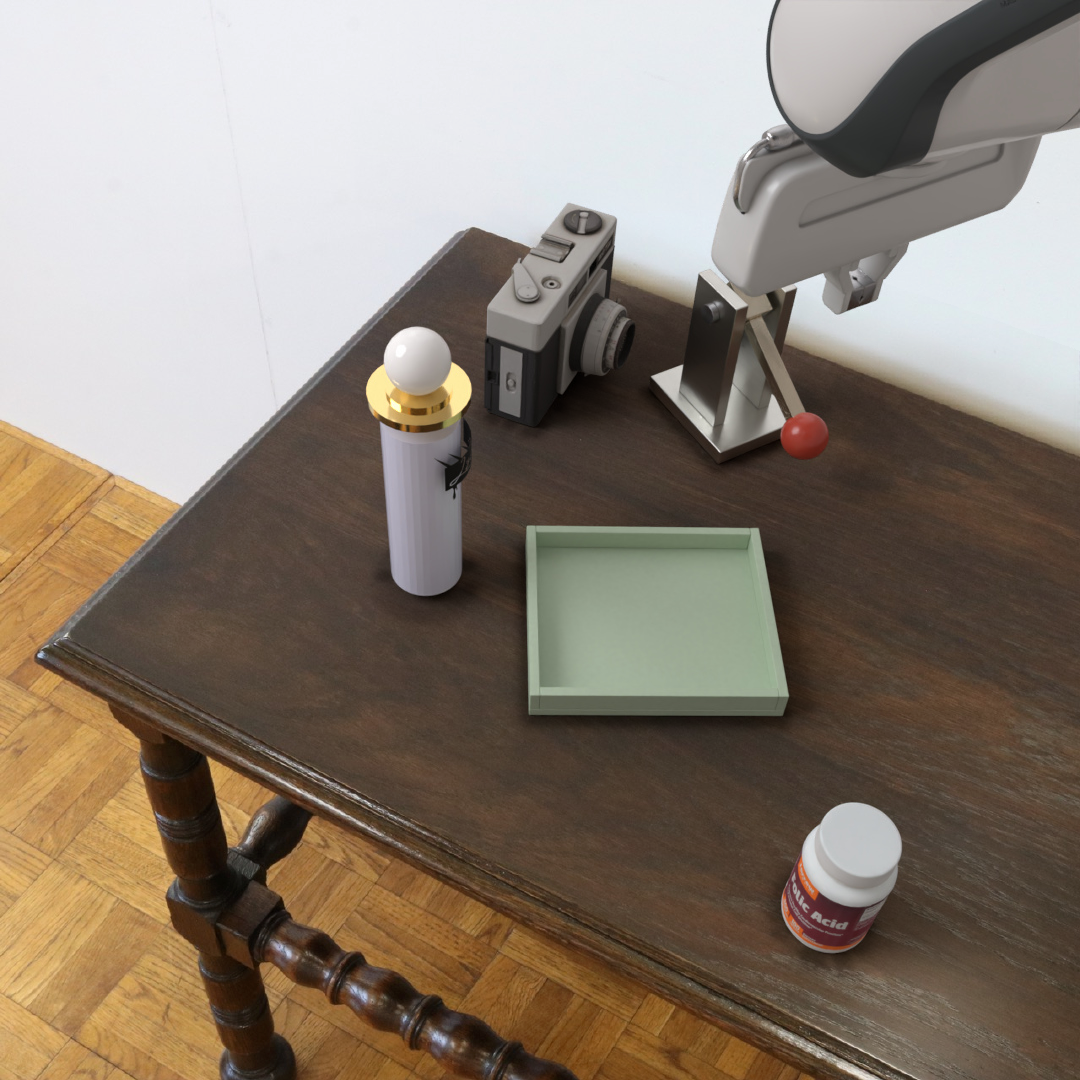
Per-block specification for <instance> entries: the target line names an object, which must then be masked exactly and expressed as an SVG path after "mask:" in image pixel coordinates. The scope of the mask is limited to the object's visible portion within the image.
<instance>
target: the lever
mask: <svg viewBox="0 0 1080 1080" xmlns="http://www.w3.org/2000/svg"><path fill="white" fill-rule="evenodd" d="M726 284H727V285H728V286H729V287H730V288H731V289H732V290H733V291H734V292H735V293H736V294H737V295H738V296H739V297H740V298H741V299H742V300H743V301H745V302H746V303H747V304H748V306H749V307H748V311H747V316H746V321H745V326H744V330H745V332H746V334H747V337H748V339H749V341H750V343H751V345H752V348H753V350H754V352H755V354H756V356H757V359H758V361H759V363H760V365H761V367H762V370H763V372H764V374H765V376H766V378H767V381H768V383H769V385H770V387H771V389H772V394H773V395H774V396H775V398H776V400H777V403H778V405H779V407H780V409H781V411H782V414H783V416H784V418H785V420H786V422H785V423H784V425H783V427H782V429H781V435H780V439H779V440H780V443H781V446H782V448H783V450H784V451H785V452H786V453H787V454H788V455H789V456H790V457H792V458H794V459H796V460H801V461H808V460H812V459H815V458H817V457H818V456H820V455H821V454H822V453H823V452H824V451H825V450H826V448H827V446H828V444H829V440H830V431H829V428H828V425H827V423H826V421H824V419H823V418H822V417H820V416H819V415H817V414H815V413H813V412H809V411H808V412H807V411H806V409H805V407H804V405H803V403H802V401H801V399H800V396H799V394H798V391H797V390H796V387H795V385H794V383H793V380H792V379H791V376H790V374H789V372H788V370H787V368H786V366H785V364H784V361H783V359H782V356H781V357H780V355H779V352H778V350H777V348H776V346H775V344H774V342H773V339H772V337H771V335H770V333H769V331H768V328H767V326H766V324H765V322H764V320H763V316H765V315H766V314H767V313H769V312H770V311H771V310H772V309H773V308H772V306H771V304H770V302H769V299H768V297H767V295H766V294H764V295H761V296H758V297H750V296H747V295H746V294H744V293H743V292H742V291H741V290H739V289H738V288H737V287H736V286H734V285H733V284H732V283H731V282H730V281H729V280H728V282H727V283H726Z"/></svg>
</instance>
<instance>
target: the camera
mask: <svg viewBox="0 0 1080 1080" xmlns="http://www.w3.org/2000/svg"><path fill="white" fill-rule="evenodd" d="M617 225H618V218H617V217H616V216H615V215H612V214H609V213H606V212H601V211H599V210H596V209H592V208H588V207H586V206H581V205H578V204H575V203H572V202H567V203H566V204H565V205H564V207H562V209H561V210H560V212H559V213H558V215H557V216H556V217H555V218H554V220H552V221H551V224H549V226H548V227H547V228H546V230H545V231H544V232H543V233H542V234H541V235H540V238H541V239H540V241H539V242H538V244H537V245H536V247H534V246H532V247H531V249H529V253H527V255H526V256H525V257H524V259H522V257H518V259H517V262H516V263H515V264H514V265H513V267H512V268H511V274H510V276H509V278H508V279H507V280H506V281H505V283H504V284H503V286H502V287H500V289H499V291H498V292H497V293H496V294H495V296H494V297H493V298H492V300H491V301H490V302H489V303H488V305H487V307H486V308H487V309H486V333H485V337H484V372H483V373H484V374H483V375H484V376H483V377H484V383H483V384H484V386H483V408H484V409H487V412H488V413H491V414H493V415H495V416H499V417H502V418H504V419H507V420H510V421H513V422H516V423H518V424H522V425H525V426H529V427H532V428H535V427H537V426H538V425H539V423H540V422H541V421H542V420H543V418H544V416H545V415H546V413H547V412H548V410H549V408H550V407H551V406H552V404H553V403H554V402H555V400H556V399H557V397H558V395H559V394H560V395H564V393H565V391H566V390H567V388H568V387H569V385H570V384H571V382H572V381H573V380H574V378H575V376H576V375H577V373H578V372H580V373H584V375H583V376H584V377H587V376H589V375H595V376H602V377H603V376H605V375H607V374H608V373H609V372H610V370H611V369H612V370H615V371H619V370H620V369H622V368H623V366H625V364H626V361H627V360H628V358H629V355H630V352H631V350H632V347H633V344H634V340H635V336H636V327H637V325H636V322H635V321H634V320H633V319H632V318H631V319H630V318H628V311H627V308H626V307H625V306H623V305H622V304H620V302H621V300H622V299H621V298H619V297H616V300H615V301H614V300H612V299H610V293H611V286H612V285H611V284H612V274H613V265H614V255H615V248H616V245H615V243H616V234H617Z"/></svg>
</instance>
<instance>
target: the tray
mask: <svg viewBox="0 0 1080 1080" xmlns="http://www.w3.org/2000/svg"><path fill="white" fill-rule="evenodd" d="M760 533H761V532H760V528H759V527H750V528H749V527H699V526H698V527H697V526H696V527H695V526H694V527H691V526H689V527H685V526H679V527H677V526H612V525H611V526H601V525H600V526H599V525H597V526H596V525H595V526H594V525H587V526H586V525H526V531H525V577H526V578H525V584H526V585H525V587H526V588H525V589H526V635H527V637H526V639H527V642H526V643H527V644H526V645H527V691H528V694H527V695H528V715H529V716H677V717H678V716H680V717H682V716H686V717H688V716H692V717H694V716H696V717H697V716H701V717H702V716H703V717H704V716H705V717H709V716H711V717H712V716H713V717H783V716H784V713H785V710H786V707H787V705H788V701H789V698H790V693H789V688H788V683H787V678H786V672H785V667H784V666H785V665H784V661H783V655H782V648H781V643H780V639H779V633H778V627H777V622H776V615H775V611H774V605H773V600H772V594H771V590H770V589H771V587H770V582H769V578H768V572H767V567H766V561H765V555H764V550H763V544H762V538H761V534H760Z"/></svg>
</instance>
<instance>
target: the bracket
mask: <svg viewBox="0 0 1080 1080" xmlns="http://www.w3.org/2000/svg"><path fill="white" fill-rule="evenodd" d="M695 287H696V288H695V293H694V299H693V305H692V309H691V315H690V322H689V327H688V334H687V340H686V347H685V352H684V357H683V364H680V365H678V366H675V367H671V368H669V369H666V370H663V371H661V372H658V373H656V374H653V375H650V376H649V382H648V389H649V390H650V392H652V394H653V395H654V396H655V397H656V398H657V399H658V400H659V401H660V403H662V404H663V405H664V407H665V408H666V409H667V410H668V411H669V412H670V413H671V415H672V416H673V417H674V418H675V419H676V420H677V421H678V422H679V423H680V424H681V425H682V426H683V428H684V429H685V430H686V431H687V432H688V433H689V434H690V435H691V436H692V437H693V439H695V441H696V442H697V443H698V444H699V445H700V446H701V448H703V449H704V451H706V453H707V454H708V455H709V456H710V457H711V458H712V459H713V460H714V461H715V463H716V464H721V463H724V462H727V461H729V460H731V459H734V458H737V457H739V456H741V455H744V454H746V453H749V452H751V451H753V450H756V449H758V448H761V447H763V446H765V445H768V444H771V443H773V442H775V441H777V440H781V439H780V435H781V429H782V427H783V425H784V423H785V422H786V420H785V418H784V416H783V414H782V411H781V409H780V407H779V405H778V403H777V400H776V398H775V396H774V394H773V392H772V389H771V387H770V385H769V383H768V381H767V378H766V376H765V374H764V372H763V370H762V367H761V365H760V363H759V361H758V359H757V356H756V354H755V352H754V350H753V348H752V345H751V343H750V341H749V339H748V337H747V334H746V332H745V330H744V326H745V321H746V316H747V311H748V307H749V306H748V304H747V303H746V302H745V301H743V300H742V299H741V298H740V297H739V296H738V295H737V294H736V293H735V292H734V291H733V290H732V289H731V288H730V287H729V286H728V285H727V283H726V282H725V281H724V280H723V279H721V278H720V276H718V274H716V272H714V271H713V269H712V268H709V269H706V270H705V269H704V271H703V270H702V271H700V272H698V274H697V281H696V286H695ZM797 291H798V287H797V286H796V285H795V283H794V284H791V285H789V286H786V287H783V288H780V289H778V290H775V291H772V292H769V293H766V295H767V297H768V299H769V302H770V304H771V306H772V308H773V309H772V310H771V311H770V312H769V313H767V314H766V315H765V316H763V320H764V322H765V324H766V326H767V328H768V331H769V333H770V335H771V337H772V339H773V342H774V344H775V346H776V348H777V350H778V352H779V355H780V357H781V358H782V353H783V350H784V345H785V341H786V337H787V334H788V333H787V332H788V328H789V324H790V321H791V316H792V313H793V308H794V305H795V300H796V296H797Z"/></svg>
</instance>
